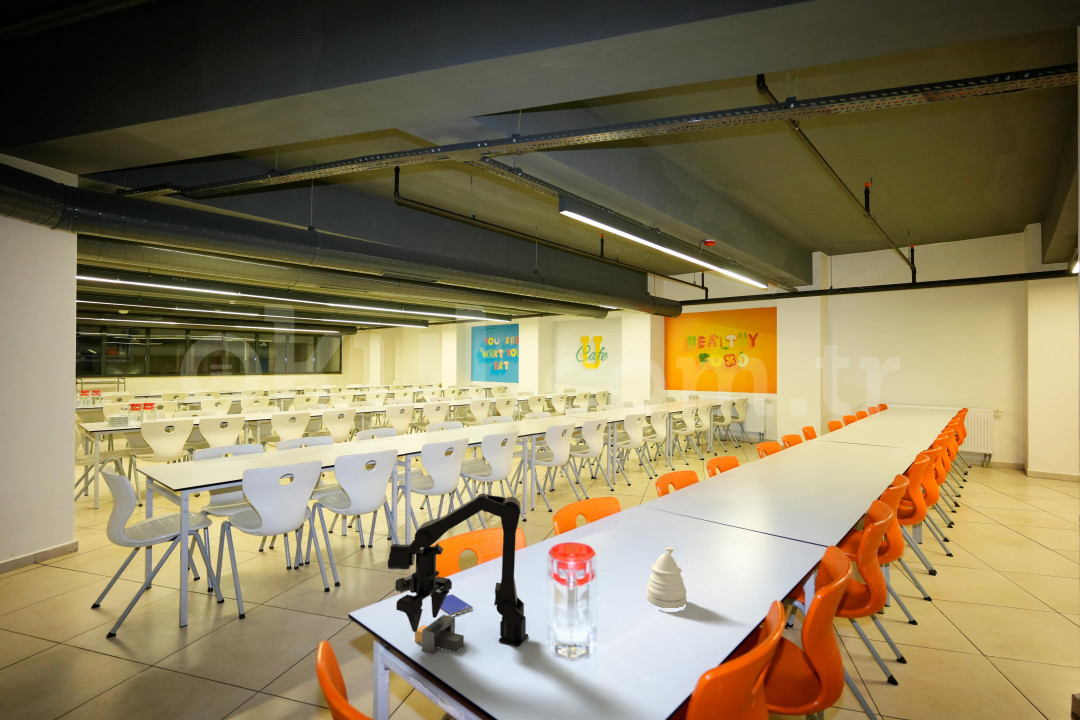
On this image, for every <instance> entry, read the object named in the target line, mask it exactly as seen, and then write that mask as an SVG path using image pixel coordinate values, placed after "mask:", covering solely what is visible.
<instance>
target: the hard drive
mask: <svg viewBox="0 0 1080 720" xmlns="http://www.w3.org/2000/svg"><path fill="white" fill-rule="evenodd" d="M440 609H441V610H442V611H441V612H443V611H444V612H445V613H444V612H443V613H444V614H446V613H447V614H448V615H447V614H446V615H447V616H449V615H450V616H452V615H455V614H458V613H461V614H463V613H462V612H464V613H466V612H465V611H467V612H469V611H468V610H470V611H472V610H471V609H473V610H474V608H473V606H472V605H470V604H469V603H467V602H465V601H464V600H463V599H461V598H459V597H457V596H456V595H454V594H449V595H448V594H447V596H446V598H445V600H444V602H443V604H442V606H441V608H440ZM458 615H459V614H458ZM455 616H456V615H455Z"/></svg>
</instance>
